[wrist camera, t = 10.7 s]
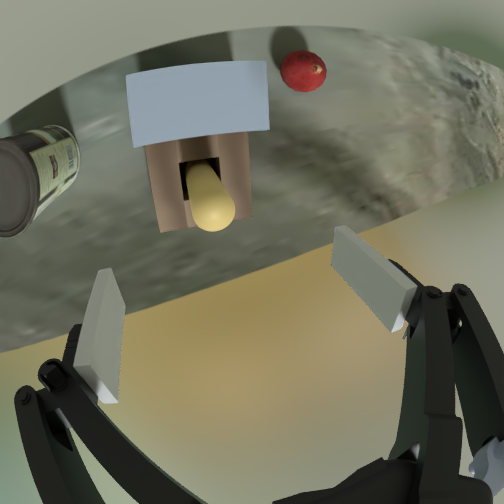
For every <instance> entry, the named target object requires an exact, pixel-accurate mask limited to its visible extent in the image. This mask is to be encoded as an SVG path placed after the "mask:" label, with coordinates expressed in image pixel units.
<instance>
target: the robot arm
mask: <svg viewBox="0 0 504 504" xmlns="http://www.w3.org/2000/svg"><path fill="white" fill-rule="evenodd" d="M331 266H332V267H333V268H334V269H335V270H336V271H337V272H338V273H339V274H340V276H341V277H342V278H343V279H344V280H345V281H346V282H347V283H348V284H349V286H350V287H352V289H353V290H354V291H355V292H356V293H357V294H358V296H359V297H360V298H361V299H362V300H363V301H364V302H365V303H366V305H367V306H368V307H369V308H370V309H371V310H372V312H373V313H374V314H375V315H376V316H377V317H378V318H379V320H380V321H381V322H382V323H383V324H384V325H385V326H386V328H387V329H388V330H389V331H390V332H391V333H392V332H394V331H396V330H398V329H401V328H402V326H403V324H404V321H405V320H406V321H407V322H408V323H409V325H408V327H407V329H406V332H405V334H404V336H403V339H405V337H406V336H407V349H406V367H405V379H404V390H403V398H402V407H401V414H400V420H399V426H398V432H397V437H396V441H395V444H394V446H393V448H392V450H391V452H390V454H389V457H388V460H384V459H383V458H382V457H381V458H379V459H377V460H375V461H373V462H372V463H370V464H368V465H366V466H364V467H362V468H360V469H358V470H357V471H356V472H354V473H353V474H352V475H350V476H349V477H348V478H347V479H345V480H344V481H342V482H341V483H340V484H338V485H337V486H336V487H334V488H330V489H324V490H317V491H310V492H303V493H299V494H296V495H293V496H290V497H287V498H283V499H280V500H277V501H273V502H272V504H493V497H494V496H495V495H496V494H497V493H498V492H499V491H500V490H501V489H502V488H503V487H504V354H503V351H502V349H501V347H500V344H499V342H498V340H497V338H496V336H495V334H494V332H493V330H492V328H491V326H490V324H489V322H488V320H487V318H486V316H485V314H484V312H483V310H482V309H481V307H480V305H479V303H478V301H477V300H476V298H475V296H474V294H473V293H472V291H471V290H470V288H468V287H467V286H466V285H464V284H459V283H458V284H455V285H453V288H452V290H451V292H444V293H443V292H442V291H441V290H440V289H438V288H436V287H434V286H423V285H422V284H421V283H420V282H419V281H418V280H417V279H416V278H415V277H413V276H412V275H411V274H410V273H408V271H406V270H405V269H403V267H402V266H401V265H399V264H398V263H397V262H394V261H393V260H390V259H386V258H385V257H384V256H383V255H381V254H380V253H379V252H378V251H377V250H375V249H374V248H373V247H372V246H370V245H369V244H368V243H367V242H366V241H364V240H363V239H362V238H361V237H359V236H358V235H357V234H356V233H354V232H353V231H352V230H351V229H349V228H348V227H347V226H346V225H344V226H338V227H335V231H334V241H333V251H332V260H331ZM125 308H126V306H125V304H124V301H123V299H122V296H121V294H120V291H119V288H118V286H117V283H116V280H115V278H114V275H113V272H112V269H111V268H107V269H102V270H99V271H98V274H97V277H96V280H95V283H94V286H93V289H92V292H91V296H90V299H89V303H88V306H87V310H86V313H85V317H84V321H83V324H76V325H74V327H73V328H72V329H71V331H70V332H69V336H68V339H67V343H66V347H65V348H66V349H65V351H64V355H63V359H62V362H61V361H60V360H59V359H55V358H54V359H49V360H47V361H45V362H44V363H43V364H42V365H41V367H40V369H39V371H38V379H39V381H40V382H41V383H42V384H43V385H44V386H45V388H43V389H41V390H38V391H35V390H34V389H33V388H32V387H31V386H28V385H26V386H23V387H21V388H20V389H19V390H18V391H17V392H16V395H15V397H14V404H15V410H16V415H17V420H18V425H19V430H20V434H21V439H22V443H23V447H24V450H25V454H26V457H27V461H28V463H29V467H30V470H31V473H32V476H33V479H34V482H35V484H36V487H37V489H38V492H39V495H40V497H41V499H42V502H43V504H105V502H104V501H103V499H102V497H101V495H100V494H99V492H98V490H97V489H96V486H95V485H94V483H93V481H92V479H91V477H90V475H89V473H88V471H87V469H86V467H85V465H84V463H83V461H82V458H81V456H80V454H79V452H78V450H77V447H76V445H75V442H74V440H73V438H72V435H71V432H70V430H69V428H71V427H72V428H73V429H74V431H75V432H76V433H77V435H78V436H79V437H80V439H81V440H82V441H83V443H84V444H85V445H86V447H87V448H88V449H89V451H90V452H91V453H92V454H93V455H94V457H95V458H96V459H97V460H98V461H99V463H100V464H101V465H102V466H103V467H104V468H105V469H106V470H107V472H108V473H109V474H110V475H111V476H112V477H113V478H114V479H115V481H116V482H117V483H118V484H119V485H120V486H121V487H122V488H123V489H124V490H125V491H126V492H127V493H128V494H129V495H130V496H131V497H132V498H133V499H135V500H136V501H137V502H138V503H139V504H208V503H206V502H205V501H203V500H202V499H200V498H199V497H198V496H196V495H195V494H193V493H192V492H190V491H189V490H188V489H186V488H185V487H184V486H182V485H181V484H180V483H178V482H177V481H175V479H173V478H172V477H171V476H169V475H168V474H167V473H166V472H165V471H163V470H162V469H161V468H160V467H159V466H157V465H156V464H155V463H154V462H153V461H152V460H150V459H149V458H148V457H147V456H146V455H145V454H144V453H143V452H142V451H141V450H140V449H138V447H136V446H135V445H134V444H133V443H132V442H131V441H130V440H129V439H128V438H127V437H126V436H125V435H124V434H123V433H122V432H121V431H120V430H119V429H118V427H117V426H116V425H115V424H114V423H113V422H112V421H111V420H110V419H109V418H108V416H107V415H106V414H105V413H104V412H103V411H102V410H101V409H100V407H99V406H98V405H97V401H98V398H99V399H100V400H101V401H102V402H103V404H106V403H119V374H120V358H121V345H122V334H123V324H124V316H125ZM460 320H461V321H462V326H461V327H460V325H459V322H460ZM455 384H456V388H457V391H458V396H459V400H460V403H461V408H462V412H463V417H464V422H465V428H466V433H467V438H468V443H469V447H470V450H471V453H472V456H473V458H474V459H473V462H471V464H470V465H469V472H470V473H471V474H474V478H472V477H467V476H462V475H459V468H460V459H461V448H462V432H463V423H462V419H461V418H460V417H456V415H455Z"/></svg>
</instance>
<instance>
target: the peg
mask: <svg viewBox="0 0 504 504" xmlns="http://www.w3.org/2000/svg"><path fill="white" fill-rule="evenodd" d="M185 177H186V183H187V188H188V194H189V200H190V205H191V211H192V216H193V219H194V221H195V223H196V224H197V225H198V226H199V227H200V228H202V229H203V230H206V231H219V230H222V229H224V228H225V227H227V226H228V225H229V224H230V223H231V221H232V220H233V218H234V215H235V204H234V202H233V200H232V198H231V197H230V195H229V194H228V192H227V190H226V189H225V187H224V186H223V184H222V183H221V181H220V180H219V178H218V176H217V175H216V173H215V172H214V170H213V169H212V167H211V166H210V164H209V163H208V161H206V160H205V159H199V160H193V161H189V162H188V163H187V165H186V167H185Z"/></svg>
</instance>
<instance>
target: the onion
mask: <svg viewBox="0 0 504 504" xmlns="http://www.w3.org/2000/svg"><path fill="white" fill-rule="evenodd" d="M326 71H327V70H326V67H325V64H324V62H323V61H322V59H321V58H320V57H318V56H317V55H316V54H314V53H312V52H308V51H304V50H302V51H296V52H292V53H290V54H289V55H288V56H286V57H285V58H284V59H283V62H282V64H281V73H280V74H281V76H282V79H283V81H284V82H285V83H286V85H287V86H288V87H290V88H292V89H293V90H295V91H301V92H309V91H313V90H315V89H317V88H318V87H320V86H321V85H322V84H323V82H324V80H325V78H326Z"/></svg>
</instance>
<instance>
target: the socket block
mask: <svg viewBox="0 0 504 504" xmlns="http://www.w3.org/2000/svg"><path fill="white" fill-rule="evenodd" d="M145 150H146V157H147V163H148V170H149V176H150V182H151V187H152V193H153V198H154V204H155V209H156V214H157V219H158V224H159V228H160V233H161V232H167V231H172V230H178V229H183V228H189V227H195V226H198V225H197V224H196V223H195V221H194V219H193V216H192V211H191V205H190V200H189V194H188V189H182V182H181V175H180V167H179V163H180V162H186V161H193V160H199V159H207V158H214V161H215V171H216V175H217V176H218V178H219V180H220V181H221V183H222V184H223V186H224V187H225V189H226V190H227V192H228V194H229V195H230V197H231V198H232V200H233V202H234V204H235V215H234V218H233V220H237V219H243V218H250V217H252V199H251V181H250V163H249V145H248V131H245V132H233V133H223V134H214V135H206V136H198V137H191V138H184V139H178V140H172V141H166V142H160V143H155V144H149V145H145Z"/></svg>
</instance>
